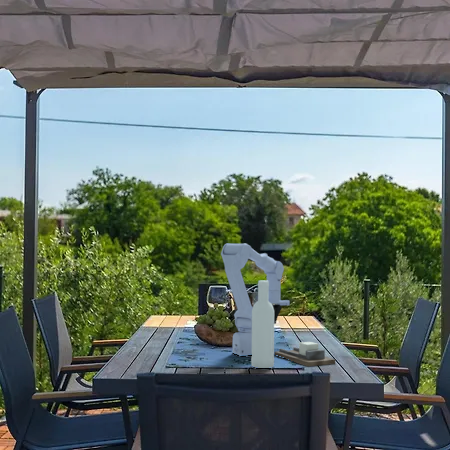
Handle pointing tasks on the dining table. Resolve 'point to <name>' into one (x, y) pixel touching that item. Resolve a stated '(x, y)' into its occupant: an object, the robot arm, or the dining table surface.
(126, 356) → the dining table surface
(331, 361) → the rail board
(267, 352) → the bottle
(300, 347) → the pale grey cube
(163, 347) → the dining table surface
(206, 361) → the dining table surface
